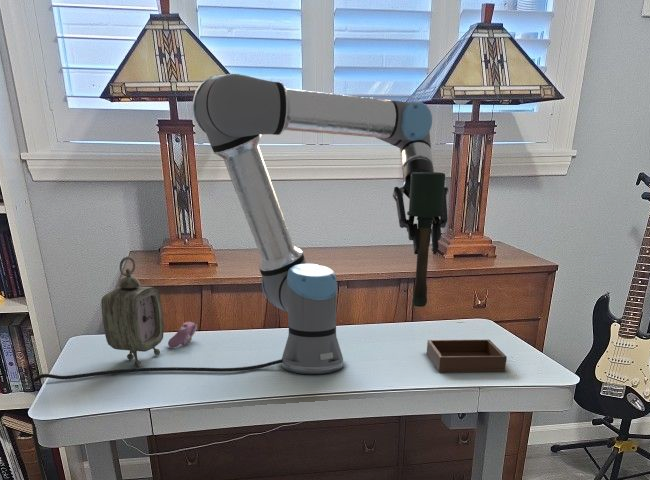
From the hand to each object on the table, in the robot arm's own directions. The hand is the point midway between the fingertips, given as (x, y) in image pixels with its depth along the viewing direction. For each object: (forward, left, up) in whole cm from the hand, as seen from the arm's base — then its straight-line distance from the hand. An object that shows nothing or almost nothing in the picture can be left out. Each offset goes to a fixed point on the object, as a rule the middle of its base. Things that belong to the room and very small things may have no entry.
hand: (426, 250), depth 165 cm
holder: (+12, 0, -27) cm, 30 cm away
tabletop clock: (-71, +5, -27) cm, 76 cm away
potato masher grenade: (0, +4, -14) cm, 14 cm away
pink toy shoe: (-61, +20, -27) cm, 70 cm away
